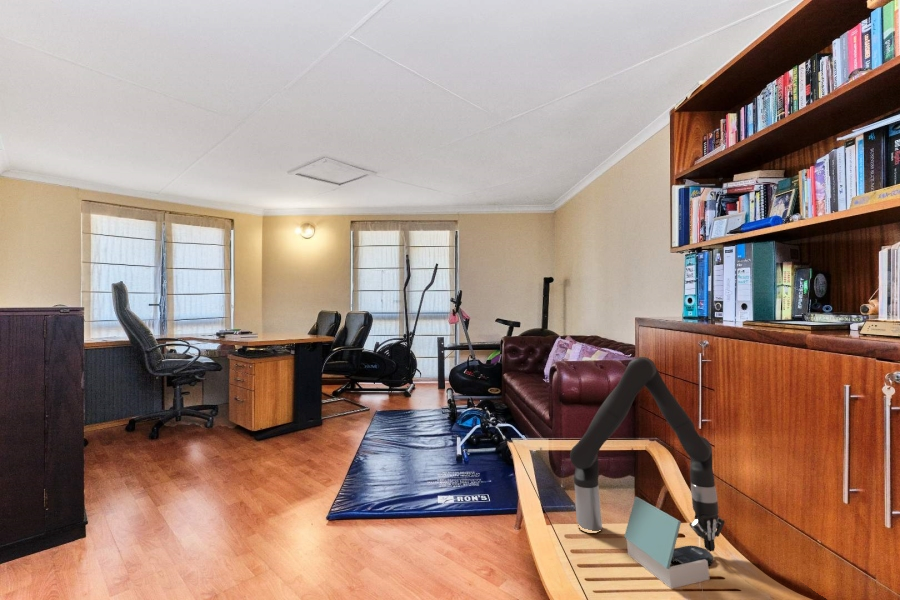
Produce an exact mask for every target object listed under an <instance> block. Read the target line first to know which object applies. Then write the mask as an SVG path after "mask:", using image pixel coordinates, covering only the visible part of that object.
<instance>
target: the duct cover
mask: <svg viewBox="0 0 900 600" xmlns="http://www.w3.org/2000/svg"><path fill="white" fill-rule="evenodd" d="M630 511H631V512H630V513H629V514H630V515H629V518H628V522H627V526H626V529H625V534H624V538H625V539H626V540H627V539H628V540H629V541H630V542H632V543H633V544H634V545H636V546H637V547H638V548H640V549H641V550H642V551H644V552H645V553H647V554H648V555H649V556H651V557H652V558H653V559H655V560H656V561H657V562H659V563H660V564H661V565H663V566H664V567H665V568H667V569H669V568H670V567H671V565H672V564H671V560H672V556H673V552H674V549H676V548H675V547H676V545H677V544H676V543H677V541H678V535H679V532H680V528H681V526H682V525H681V524H682V521H680V520H678V519H677V518H675V517H674V516H672V515H671V514H668V513H667V512H664V511H663V510H661V509H659V508H657V507H656V506H654V505H652V504H650V503H649V502H647V501H645V500H644V499H641V498H640V497H638V496H635V497H634V500H633V504H632V508H631V510H630ZM672 561H673V560H672Z"/></svg>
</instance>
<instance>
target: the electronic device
mask: <svg viewBox="0 0 900 600" xmlns="http://www.w3.org/2000/svg"><path fill="white" fill-rule="evenodd" d="M703 559H705V560H707V561H708V566H709V565H711V564H712V563H713V562H714V555H713V554H712V553H711V552H710V551H709V550H707V549H706V548H705V547H701V546H696V545H685V546H679V547H678V548H674V552H673V556H672V560H671V564H670V565H673V566H676V565H681V564H685V563H690V562H694V561H699V560H703Z"/></svg>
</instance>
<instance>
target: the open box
mask: <svg viewBox="0 0 900 600" xmlns="http://www.w3.org/2000/svg"><path fill="white" fill-rule="evenodd" d="M626 546H627V555H628V556H629V557H630V558H632V559H633V560H635V562H637V563H638V564H639V565H641V566H642V567H643V568H645V570H647V571H648V572H649V573H651V574H652V575H653V576H655V577H656V578H657V579H658V580H659V581H661V582H662V583H664V584H665V586H667V587H668V588H670V589H676V588H680V587H683V586H688V585H692V584H695V583H697V584H698V583H700V582H705V581H709V580H710V571H709V565H708V561H707V560H705V559H703V560H699V561H694V562H690V563H685V564H681V565H676V566H674V565H673V566H670V568H669V569H667V568H665V567H664V566H663V565H661V564H660V563H659V562H657V561H656V560H655V559H653V558H652V557H651V556H649V555H648V554H647V553H645V552H644V551H642V550H641V549H640V548H638V547H637V546H636V545H634V544H633V543H632V542H630V541H629V540H628V539H626Z"/></svg>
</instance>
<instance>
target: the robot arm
mask: <svg viewBox="0 0 900 600" xmlns="http://www.w3.org/2000/svg"><path fill="white" fill-rule="evenodd" d="M625 368H626V369H625V370H624V372H623V374H622V376H621V378H620V380H619V382H618V383H617V385H616V386H615V388H613V390H612V391H611V392H610V393H609V395H608V396H607V397H606V398H605V400H603V402H602V404H601V405H600V407H599V408H598V410H596V411H597V412H596V413H595V415H594V417H593V419H592V420H591V422H590V424H589V425H588V428H587V430H586V431H585V433H584V435H583V436H582V437H581V438H580V440H579V441H577V443H576V444H575V445H574V446H573V447H572V448H571V450H570V452H569V459H570V462H571V464H572V466H573V467H574V468H575V469H574V470H575V471H574V475H573V483H574V484H573V485H574V495H575V499H574V505H575V515H576V518H577V519H576V523H577V522H578V524H579V525H580V526H581V527H582V528H584V529H588V530H592V531H599V530H601V529H602V530H603V524H602V512H601V511H602V509H601V501H600V499H601V498H600V488H599V475H600V472H599V471H600V470H599V469H600V468H599V455H598V453H599V451H600V449H601V448H602V446H603V445H604V444H605V443H606V442H607V441H608V440H609V438H610V437H611V436H613V434H614V433H615V432H616V431H617V429H618V428H619V427H620V426H621V424H622V423H623V422H624V420H625V418H627V415H628V413H629V411H630V409H631V408H632V405H633V403H634V400H635V398H636V397H637V395H638V394H639V392H640V391H641V390H642V389H643V388H644V387H645V388H646V389H647V390H648V391H649V393H650V395H651V396H652V398H653V399H654V401H655V403H656V405H657V407H658V409H659V410H660V413H661V415H662V416H663V417H664V419H665V420H666V422H667V423H668V425H669V426H670V428H671V429H672V431H673V432H674V433H675V434H676V436H677V438H678V440H679V442H680V444H681V446H682V447H683V450H684V451H685V453H686V454H687V455H688V457H690V458H689V459H690V468H689V475H690V476H689V477H690V492H691V503H692V510H693V511H694V521H693V522H689V525H688V526H689V527H690V528H691V529H692V530H693V531H694V532H695V534H696V535H697V536H698V537H700V538H701V539H703V542H704V543H703V544H704V545H703V546H704V549H706V550H708V551H709V552H710V553H711V552H714V551H715V549H716V545H715V539H716V537H720V534H721V532H722V530H723V527H724V526H725V522H726V521H725V520H724V519H722V518H720V517H719V512H720V511H719V502H718V493H717V488H716V485H715V476H714V469H713V449H712V445H711V443H710V441H709V440H708V439H706V438H705V437H703V436H700V434H699V433H698V432H697V430H696V427H695V424H694V422H693V421H692V419H691V418H690V416H689V415H688V414H687V412H686V411H685V409H684V408H683V407H682V405H680V403H679V402H678V401H677V399H676V398H675V397H674V395H673V394H672V392H671V391H670V389H669V388H668V386H667V385H666V382H665V381H664V379H663V378H662V376H661V374H660V373H659V370H658V367H656V364H655V363H654V361H653V360H652V359H650V358H649V357H647V356H646V357H645V356H639V357H635V358H633V359H632V360H630V361H629V363H628V365H627V366H626V367H625Z"/></svg>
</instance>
